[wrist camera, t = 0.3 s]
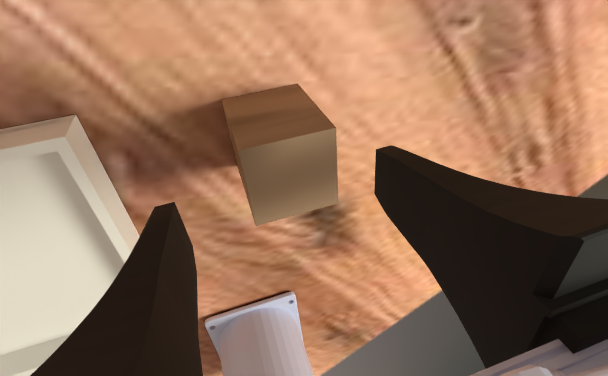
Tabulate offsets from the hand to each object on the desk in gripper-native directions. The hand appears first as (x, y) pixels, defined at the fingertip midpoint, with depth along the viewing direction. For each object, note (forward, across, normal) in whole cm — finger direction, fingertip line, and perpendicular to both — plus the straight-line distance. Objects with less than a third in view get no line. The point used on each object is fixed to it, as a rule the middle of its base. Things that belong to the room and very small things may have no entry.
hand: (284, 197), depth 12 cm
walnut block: (+10, -1, +2) cm, 10 cm away
